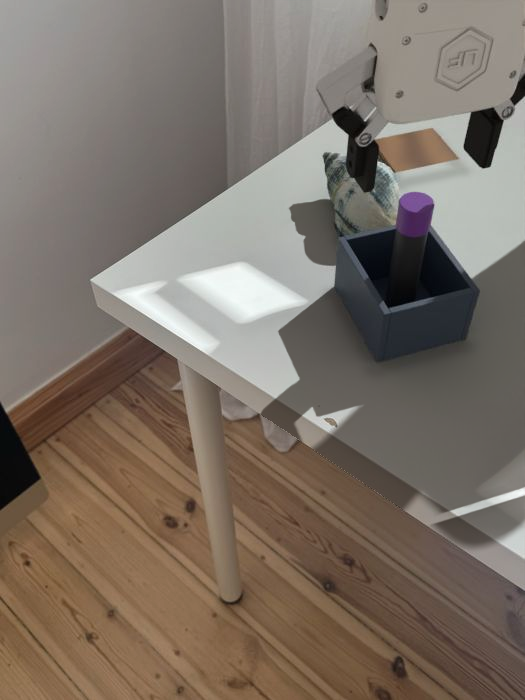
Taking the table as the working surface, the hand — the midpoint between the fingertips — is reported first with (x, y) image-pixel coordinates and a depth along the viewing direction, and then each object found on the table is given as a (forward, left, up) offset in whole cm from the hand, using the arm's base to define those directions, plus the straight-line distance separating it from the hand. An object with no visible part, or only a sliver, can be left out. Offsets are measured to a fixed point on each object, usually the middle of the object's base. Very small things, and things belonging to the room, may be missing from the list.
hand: (419, 170), depth 56 cm
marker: (0, 0, -16) cm, 16 cm away
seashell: (-3, -14, -16) cm, 22 cm away
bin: (0, 0, -16) cm, 16 cm away
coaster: (-13, -23, -16) cm, 31 cm away
